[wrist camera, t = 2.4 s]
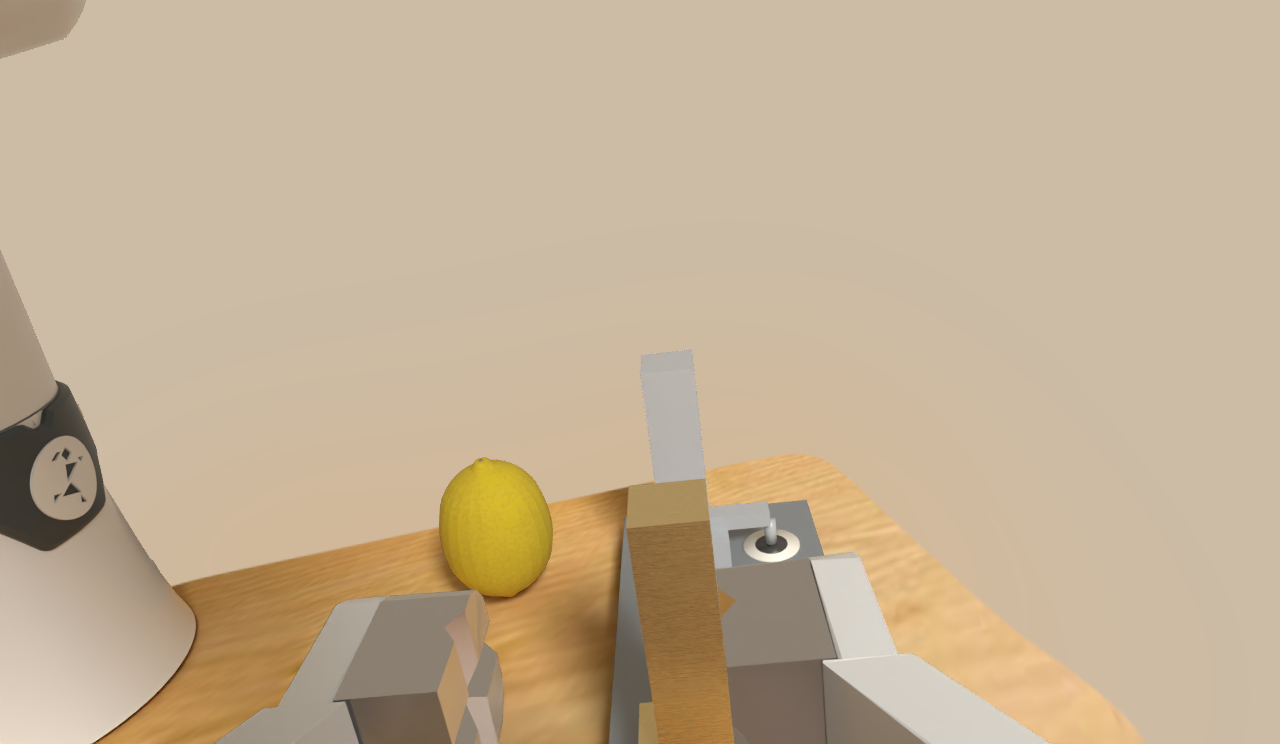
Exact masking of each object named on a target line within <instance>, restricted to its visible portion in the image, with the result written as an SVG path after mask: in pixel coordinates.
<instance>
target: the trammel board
mask: <svg viewBox="0 0 1280 744" xmlns="http://www.w3.org/2000/svg"><path fill="white" fill-rule="evenodd" d="M640 376H641V383H642V390H643V398H644V405H645V413H646V419H647V427H648V434H649V442H650V449H651V457H652V464H653V471H654V479H655V483H664V482H674V481H685V480H695V479H705V480H706V474H705V466H704V456H703V447H702V437H701V428H700V420H699V410H698V401H697V391H696V382H695V374H694V364H693V355H692V350H684V351H676V352H666V353H657V354H647V355H641V373H640ZM706 489H707V483H706ZM707 498H708V492H707ZM708 507H709V502H708ZM709 517H710V526H711V535H712V544H713V553H714V562H715V572H716V568H725V567H735V566H744V565H754V564H763V563H773V562H782V561H792V560H801V559H808V558H809V557H817V556H824V554H823V551H822V548H821V544H820V541H819V538H818V535H817V532H816V529H815V525H814V522H813V519H812V516H811V513H810V510H809V506H808V503H807V500H802V501H791V502H781V503H771V504H768V503H767V501H766V502H756V503H746V504H736V505H725V506H715V507H709ZM626 520H627V517H626V518H625V519H624V534H623V548H622V562H621V576H620V590H619V605H618V619H617V633H616V647H615V661H614V676H613V690H612V704H611V718H610V732H609V744H638V738H639V703H648V702H653V701H652V694H651V688H650V681H649V675H648V668H647V662H646V655H645V649H644V643H643V636H642V630H641V623H640V617H639V610H638V604H637V597H636V591H635V584H634V578H633V571H632V565H631V558H630V552H629V545H628V539H627V532H626ZM716 581H717V576H716ZM717 590H718V586H717ZM718 599H719V596H718ZM719 608H720V607H719ZM723 645H724V644H723Z"/></svg>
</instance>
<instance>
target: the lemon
mask: <svg viewBox="0 0 1280 744" xmlns="http://www.w3.org/2000/svg"><path fill="white" fill-rule="evenodd" d="M439 518H440V519H439V532H440V540H441V545H442V549H443V552H444V555H445V557H446V559H447V562H448V564H449V566H450V568H451V570H452V571H453V573H454V574H455V576H456V577H457V578H458V579H459V580H460V581H461V582H462V583H463V584H465V585H466V586H467V587H468V588H469V589H471V590H477V591H478V592H479V593H480V594H483V595H487V596H505V597H513V596H515V595H516V594H517V593H518V592H520V591H522V590H524V589H525V588H527V587H528V586H530V585H531V584H532V583H534V582H535V580H536V579H537V578H538V577H539V576H540V575H541V574H542V572H543V570H544V569H545V567H546V565H547V563H548V560H549V558H550V555H551V551H552V540H553V528H552V520H551V515H550V511H549V508H548V505H547V503H546V501H545V498H544V496H543V494H542V492H541V490H540V489H539V486H538V485H537V484H536V482H535V480H534V479H533V478H532V477H531V476H530V475H529V474H528V473H527V472H526V471H524V470H523V469H522V468H520V467H518V466H517V465H514V464H512V463H509V462H506V461H501V460H489V459H488V458H479V459H477V460H475V462H474V463H473V464H472V465H470V466H468V467H466V468H465V469H463V470H462V471H461V472H460V473H458V474H457V475H456V476H455V477H454V479H453V480H452V481H451V482H450V483H449V485H448V487H447V489H446V490H445V492H444V495H443V497H442V500H441V505H440V517H439Z"/></svg>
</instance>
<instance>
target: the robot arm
mask: <svg viewBox="0 0 1280 744" xmlns="http://www.w3.org/2000/svg"><path fill="white" fill-rule="evenodd" d="M85 2H86V0H0V58H4V57H7V56H11V55H14V54H17V53H21V52H24V51H27V50H30V49H33V48H36V47H39V46H43V45H46V44H49V43H52V42H55V41H59V40H62V39H64V38H66V37H67V35H68V34H69V33H70V31H71V30H72V28H73V27H74V26H75V24H76V23H77V21H78V19H79V17H80V15H81V13H82V11H83V8H84V5H85ZM716 576H717V586H718V596H719V607H720V617H721V627H722V637H723V644H724V654H725V664H726V674H727V682H728V691H729V700H730V708H731V709H730V710H731V719H732V727H733V736H734V744H1050V743H1049V742H1047V741H1046V740H1044V739H1043V738H1041V737H1040V736H1038V735H1037V734H1035V733H1034V732H1032V731H1031V730H1029V729H1028V728H1026V727H1024V726H1023V725H1021V724H1020V723H1018V722H1017V721H1015V720H1014V719H1012V718H1011V717H1009V716H1008V715H1006V714H1005V713H1003V712H1002V711H1000V710H999V709H997V708H996V707H994V706H993V705H991V704H990V703H988V702H986V701H985V700H983V699H982V698H980V697H979V696H977V695H976V694H974V693H973V692H971V691H970V690H968V689H967V688H965V687H964V686H962V685H961V684H959V683H958V682H956V681H955V680H953V679H951V678H950V677H948V676H947V675H945V674H944V673H942V672H941V671H939V670H938V669H936V668H935V667H933V666H932V665H930V664H929V663H927V662H926V661H924V660H923V659H921V658H920V657H918V656H916V655H915V654H913V653H910V654H898V652H897V650H896V647H895V645H894V642H893V640H892V637H891V635H890V632H889V630H888V627H887V624H886V622H885V619H884V617H883V614H882V612H881V609H880V607H879V604H878V602H877V599H876V596H875V594H874V591H873V589H872V586H871V584H870V581H869V579H868V576H867V574H866V571H865V568H864V566H863V563H862V561H861V558H860V556H859V555H857V554H856V553H855V552H848V553H841V554H833V555H825V556H817V557H809V558H808V559H801V560H792V561H782V562H773V563H763V564H754V565H744V566H735V567H725V568H716ZM489 622H490V620H489V617H488V613H487V609H486V606H485V602H484V598H483V596H482V595H481V594H480V593H479V592H478V591H477V590H465V591H451V592H437V593H423V594H409V595H395V596H389V597H384V596H382V597H371V598H360V599H350V600H345V601H343V602H341V603H339V604H337V605H336V606H335V608H334V609H333V611H332V613H331V614H330V616H329V618H328V620H327V621H326V623H325V625H324V626H323V628H322V630H321V632H320V633H319V635H318V637H317V639H316V640H315V642H314V644H313V646H312V647H311V649H310V651H309V653H308V654H307V656H306V658H305V660H304V661H303V663H302V665H301V667H300V668H299V670H298V672H297V674H296V675H295V677H294V679H293V681H292V682H291V684H290V686H289V688H288V689H287V691H286V693H285V695H284V696H283V698H282V700H281V702H280V703H279V705H278V707H273V708H263V709H261V710H260V711H259V712H257V713H256V714H254V715H253V716H252V717H250V718H249V719H247V720H246V721H245V722H243V723H242V724H240V725H239V726H238V727H236V728H235V729H233V730H232V731H231V732H229V733H228V734H226V735H225V736H224V737H222V738H221V739H219V740H218V741H217V742H215V743H214V744H498V741H499V737H500V732H501V727H502V722H503V701H504V691H503V681H502V672H501V667H500V663H499V658H498V654H497V653H496V652H495V651H493V650H492V649H491V648H490V647H489V646H488V645H486V644H485V643H484V640H485V636H486V633H487V629H488V625H489ZM195 631H196V621H195V616H194V613H193V612H192V610H191V608H190V607H189V606H188V605H187V604H186V603H185V602H184V601H183V599H182V598H181V597H180V596H179V595H178V594H177V593H176V592H175V591H174V589H173V588H172V587H171V586H170V585H169V583H168V582H167V581H166V580H165V578H164V577H163V576H162V574H161V573H160V571H159V570H158V568H157V566H156V565H155V563H154V562H153V560H151V559H150V558H149V556H148V555H147V553H146V552H145V550H144V548H143V547H142V545H141V544H140V542H139V541H138V539H137V538H136V536H135V534H134V533H133V531H132V529H131V528H130V526H129V524H128V523H127V521H126V520H125V518H124V516H123V515H122V513H121V511H120V510H119V508H118V507H117V505H116V503H115V502H114V500H113V498H112V497H111V495H110V494H109V492H108V490H107V489H106V487H105V486H104V484H103V479H102V474H101V469H100V465H99V461H98V456H97V449H96V446H95V444H94V441H93V439H92V437H91V434H90V432H89V430H88V427H87V425H86V423H85V420H84V418H83V414H82V412H81V409H80V407H79V405H78V404H77V403H76V401H75V399H74V397H73V395H72V393H71V391H70V389H69V387H68V386H67V385H65V384H64V383H61V382H58V381H56V380H55V379H54V377H53V375H52V372H51V370H50V368H49V365H48V363H47V361H46V358H45V356H44V353H43V351H42V348H41V346H40V344H39V341H38V339H37V336H36V334H35V332H34V329H33V327H32V324H31V322H30V319H29V317H28V315H27V312H26V310H25V308H24V305H23V303H22V300H21V298H20V296H19V293H18V291H17V289H16V286H15V284H14V282H13V279H12V277H11V274H10V272H9V270H8V267H7V265H6V263H5V260H4V258H3V255H2V253H1V251H0V744H92V743H93V742H95V741H97V740H98V739H100V738H101V737H103V736H104V735H105V734H107V733H108V732H110V731H111V730H113V729H114V728H115V727H117V726H118V725H119V724H121V723H122V722H123V721H125V720H126V719H127V718H129V717H130V716H131V715H132V714H133V713H135V712H136V711H137V710H138V709H139V708H141V707H142V706H143V705H144V704H145V703H146V702H147V701H148V700H150V699H151V698H152V697H153V696H154V695H155V694H156V693H157V692H158V691H159V690H160V689H161V688H162V687H163V686H164V685H165V683H166V682H167V681H168V680H169V679H170V678H171V677H172V675H173V674H174V673H175V672H176V670H177V669H178V667H179V666H180V665H181V663H182V662H183V660H184V658H185V657H186V655H187V653H188V651H189V649H190V647H191V645H192V642H193V639H194V636H195Z"/></svg>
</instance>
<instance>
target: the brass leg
mask: <svg viewBox="0 0 1280 744" xmlns="http://www.w3.org/2000/svg"><path fill="white" fill-rule="evenodd" d="M626 532H627V539H628V545H629V552H630V558H631V565H632V571H633V578H634V584H635V591H636V597H637V604H638V610H639V617H640V623H641V630H642V636H643V643H644V649H645V655H646V662H647V668H648V675H649V681H650V688H651V694H652V701H653V702H648V703H639V738H638V744H734V736H733V727H732V719H731V710H730V709H731V708H730V700H729V691H728V682H727V674H726V664H725V654H724V645H723V637H722V627H721V617H720V608H719V599H718V590H717V581H716V572H715V562H714V553H713V544H712V535H711V526H710V517H709V507H708V498H707V489H706V480H705V479H695V480H685V481H674V482H664V483H654V484H644V485H634V486H629V490H628V505H627V520H626Z"/></svg>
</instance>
